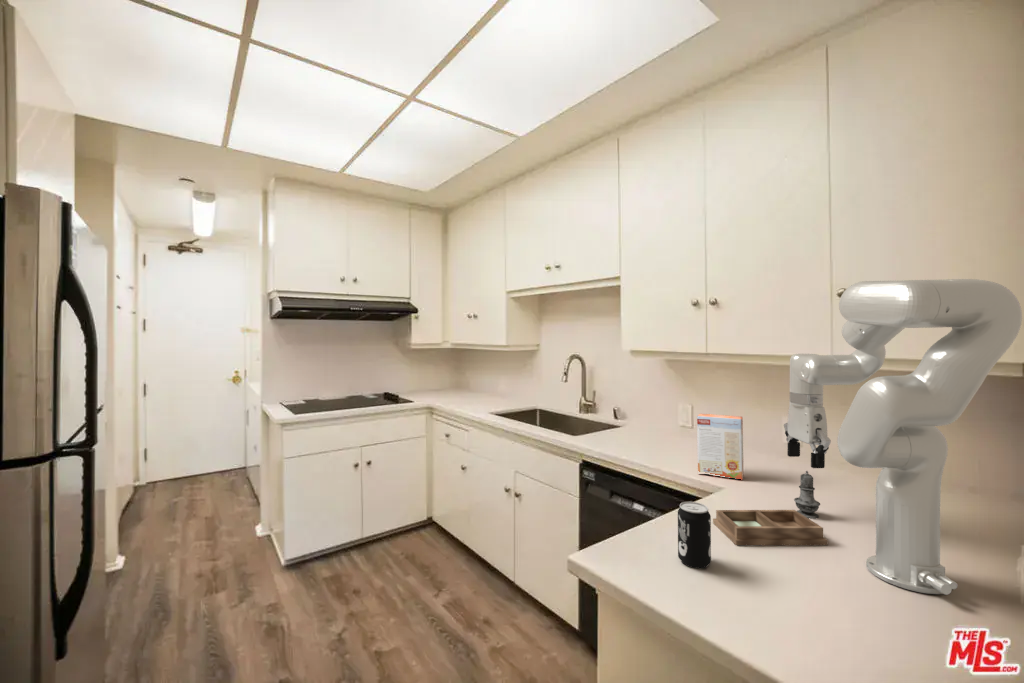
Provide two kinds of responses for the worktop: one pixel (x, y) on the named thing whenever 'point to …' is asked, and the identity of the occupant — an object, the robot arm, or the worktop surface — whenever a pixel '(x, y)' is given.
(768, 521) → the wooden divided tray
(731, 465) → the cracker box
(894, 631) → the worktop surface
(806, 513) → the salt shaker
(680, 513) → the beverage can
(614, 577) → the worktop surface
